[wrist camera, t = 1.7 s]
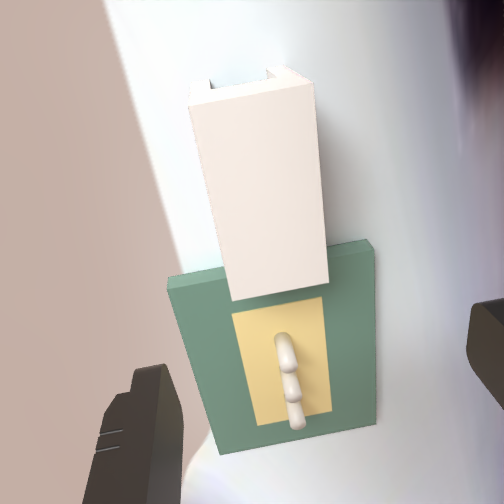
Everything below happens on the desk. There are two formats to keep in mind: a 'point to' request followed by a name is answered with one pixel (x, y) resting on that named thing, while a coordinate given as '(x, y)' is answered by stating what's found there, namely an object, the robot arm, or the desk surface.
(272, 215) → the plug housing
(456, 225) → the desk surface
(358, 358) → the header board
